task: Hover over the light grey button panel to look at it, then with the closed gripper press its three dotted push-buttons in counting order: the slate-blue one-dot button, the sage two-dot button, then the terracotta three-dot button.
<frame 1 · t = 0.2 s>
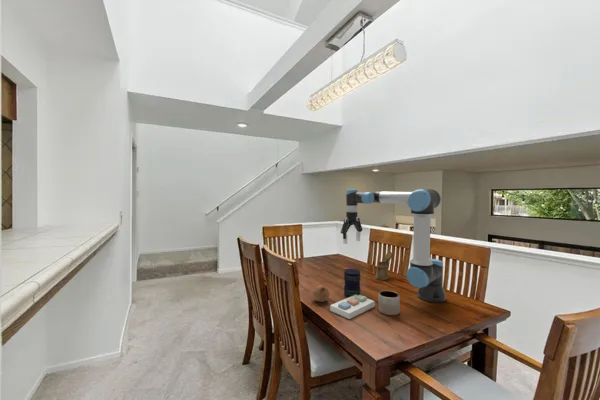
hand: (351, 242, 195), 28 cm above the table, tool pointing down, fingers open, 13 cm apart
wooden mug: (384, 277, 205), on the table
navy blue cylinder: (352, 295, 173), on the table
button two dots: (360, 299, 159), point 3 cm above the table, slide at 0.0 cm
button panel: (352, 308, 154), on the table
button three dots: (352, 303, 154), point 3 cm above the table, slide at 0.0 cm
planter: (388, 311, 151), on the table
onion: (321, 301, 165), on the table
button one dot: (344, 306, 150), point 3 cm above the table, slide at 0.0 cm
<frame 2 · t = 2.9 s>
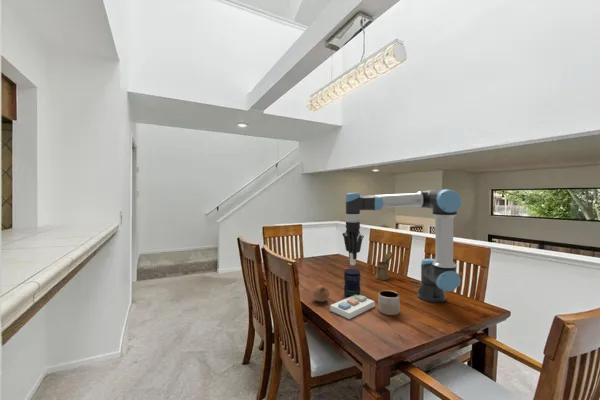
hand: (352, 264, 153), 24 cm above the table, tool pointing down, fingers closed
nothing on the table moved.
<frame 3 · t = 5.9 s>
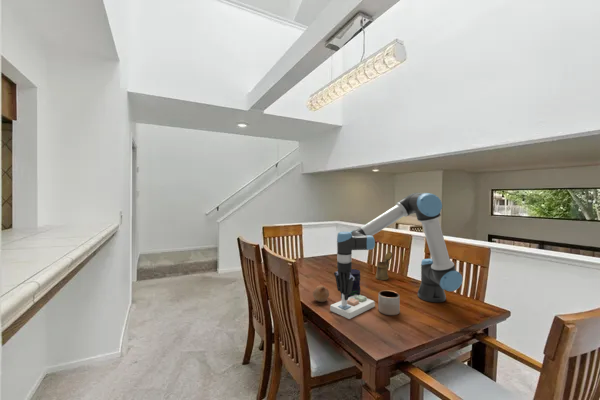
hand: (344, 305, 150), 4 cm above the table, tool pointing down, fingers closed
button one dot: (344, 308, 150), point 2 cm above the table, slide at 1.1 cm, touching gripper
everything else where it was.
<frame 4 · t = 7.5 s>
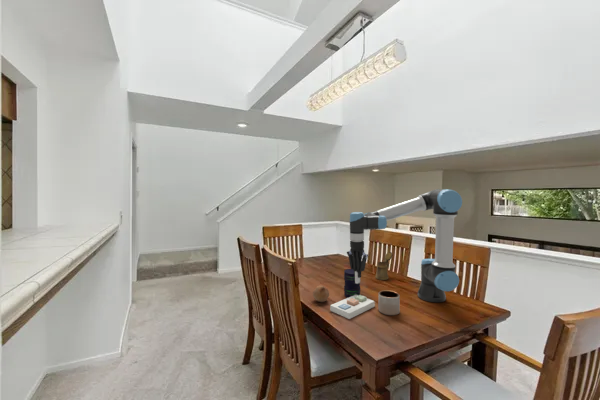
hand: (357, 282, 156), 14 cm above the table, tool pointing down, fingers closed
button one dot: (344, 308, 150), point 2 cm above the table, slide at 1.1 cm
everything else where it was.
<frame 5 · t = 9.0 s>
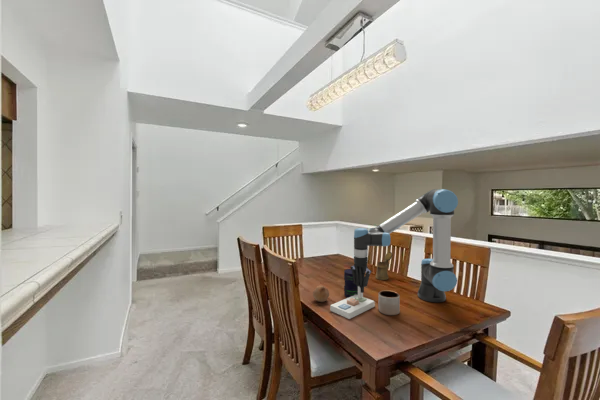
hand: (360, 297, 159), 4 cm above the table, tool pointing down, fingers closed
button two dots: (360, 300, 159), point 2 cm above the table, slide at 0.7 cm, touching gripper
everything else where it was.
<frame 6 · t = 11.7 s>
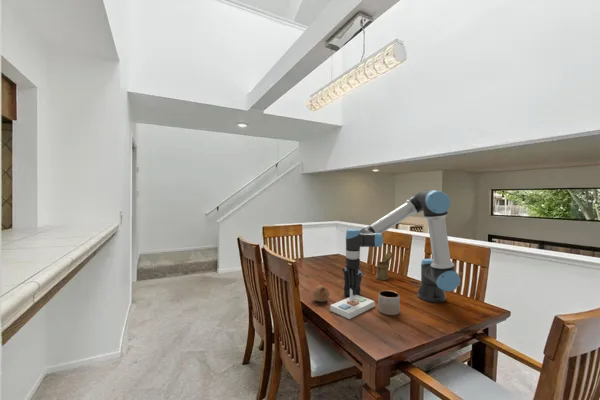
hand: (352, 300, 154), 5 cm above the table, tool pointing down, fingers closed
button two dots: (360, 301, 159), point 2 cm above the table, slide at 1.1 cm
button three dots: (352, 303, 154), point 3 cm above the table, slide at 0.3 cm, touching gripper
everything else where it was.
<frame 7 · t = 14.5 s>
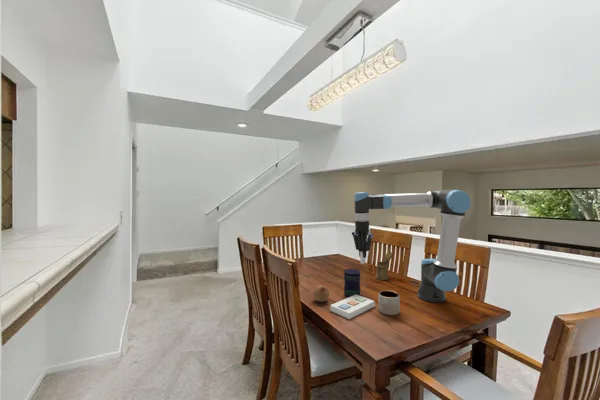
hand: (362, 263, 155), 25 cm above the table, tool pointing down, fingers closed
button three dots: (352, 305, 154), point 2 cm above the table, slide at 1.1 cm
everything else where it was.
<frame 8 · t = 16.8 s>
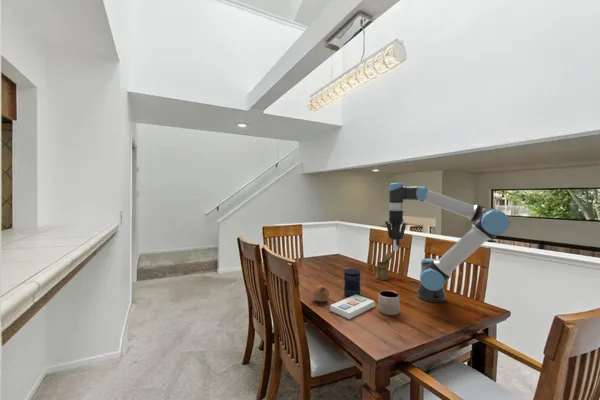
hand: (395, 250, 163), 29 cm above the table, tool pointing down, fingers closed
nothing on the table moved.
at the end: button one dot slide at 1.1 cm; button two dots slide at 1.1 cm; button three dots slide at 1.1 cm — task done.
